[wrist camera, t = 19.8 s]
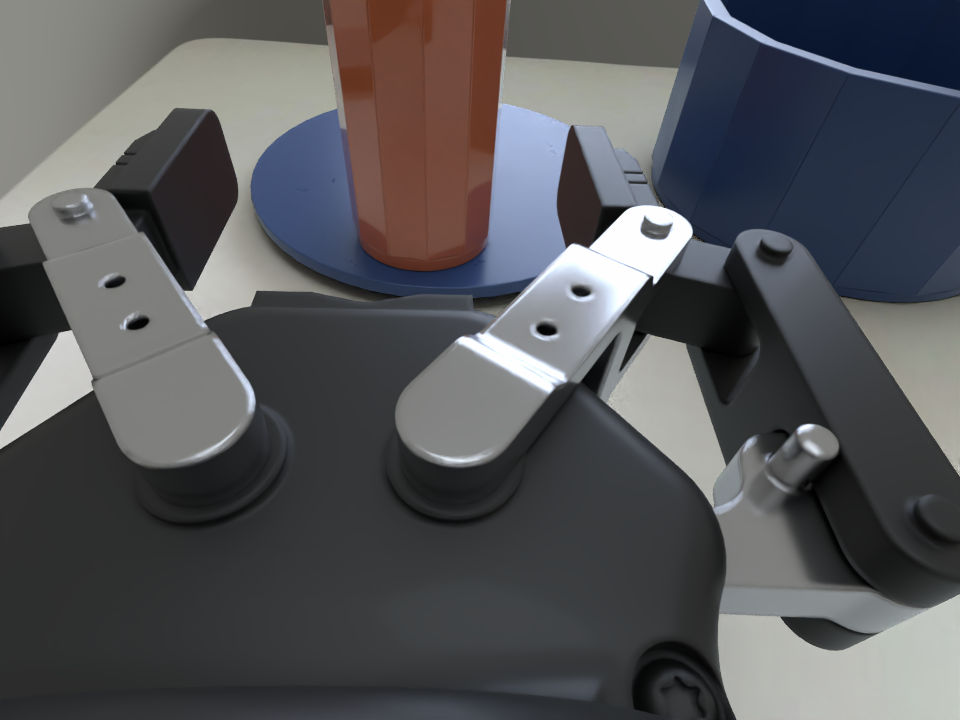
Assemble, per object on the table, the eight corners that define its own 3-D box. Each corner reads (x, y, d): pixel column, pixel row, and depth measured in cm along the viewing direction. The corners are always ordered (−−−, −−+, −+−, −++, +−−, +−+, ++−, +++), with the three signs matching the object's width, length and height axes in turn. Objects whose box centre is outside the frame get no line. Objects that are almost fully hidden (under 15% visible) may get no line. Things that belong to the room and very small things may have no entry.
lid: (180, 278, 22) (126, 158, 18) (329, 100, 35) (315, 8, 31) (632, 339, 21) (676, 227, 17) (616, 134, 34) (638, 43, 30)
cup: (338, 261, 21) (285, -43, 14) (377, 189, 25) (352, -79, 18) (480, 280, 21) (501, -20, 14) (497, 204, 25) (520, -62, 18)
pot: (666, 274, 24) (746, 74, 18) (640, 115, 36) (683, -39, 30) (1071, 327, 23) (1305, 135, 17) (907, 146, 35) (1009, -6, 29)
